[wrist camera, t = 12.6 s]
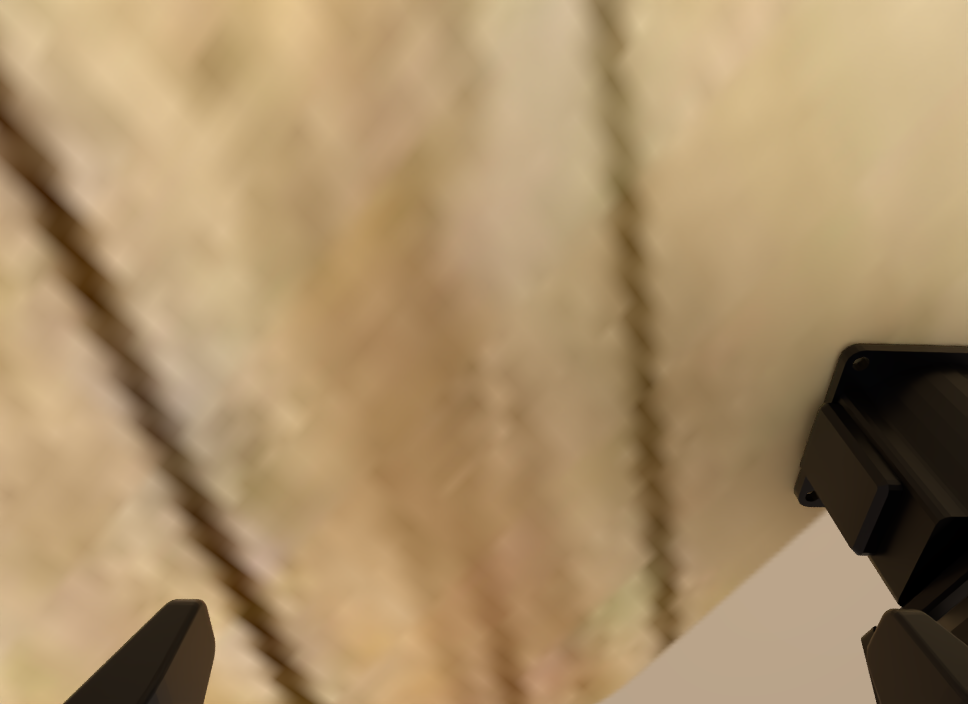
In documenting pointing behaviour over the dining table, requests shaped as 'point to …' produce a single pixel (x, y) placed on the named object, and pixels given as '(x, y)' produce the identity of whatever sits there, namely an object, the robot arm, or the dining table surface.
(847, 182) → the dining table surface
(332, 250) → the dining table surface
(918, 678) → the robot arm
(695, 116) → the dining table surface
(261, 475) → the dining table surface
